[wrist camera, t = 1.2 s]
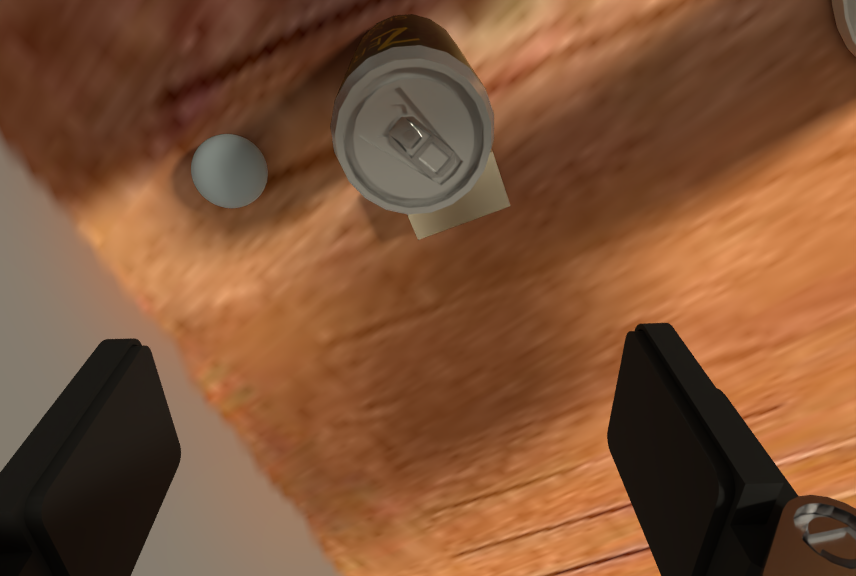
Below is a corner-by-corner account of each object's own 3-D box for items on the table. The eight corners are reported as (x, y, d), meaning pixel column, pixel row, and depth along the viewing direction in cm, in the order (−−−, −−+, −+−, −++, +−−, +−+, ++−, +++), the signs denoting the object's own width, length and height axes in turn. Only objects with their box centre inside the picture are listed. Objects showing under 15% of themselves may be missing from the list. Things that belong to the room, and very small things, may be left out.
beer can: (484, 67, 29) (534, 132, 18) (413, 149, 31) (422, 250, 20) (400, -15, 27) (403, 7, 16) (330, 79, 29) (292, 151, 18)
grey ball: (267, 124, 30) (252, 144, 26) (278, 191, 31) (265, 218, 28) (196, 127, 29) (172, 147, 26) (211, 194, 31) (190, 221, 28)
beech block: (484, 134, 31) (492, 151, 28) (501, 185, 32) (510, 206, 29) (395, 169, 31) (396, 188, 29) (416, 217, 33) (418, 240, 30)
